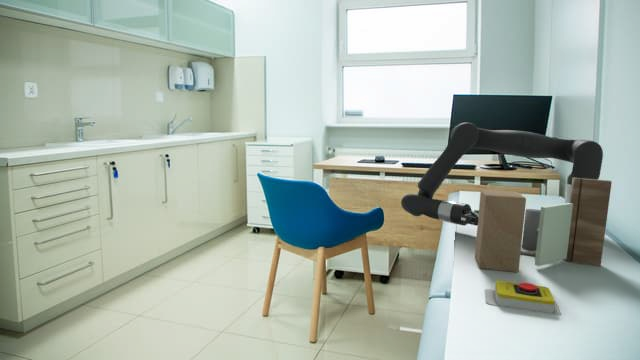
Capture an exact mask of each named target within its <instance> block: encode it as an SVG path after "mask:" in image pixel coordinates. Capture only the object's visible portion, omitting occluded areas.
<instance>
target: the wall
mask: <svg viewBox="0 0 640 360" xmlns="http://www.w3.org/2000/svg"><path fill="white" fill-rule="evenodd" d="M612 184H613V183H612V180H607V179H606V180H605V179H598V180H597V179H585V178H572V186H571V195H570V203H573V209H572V217H571V226H570V234H569V242H568V250H567V259H564V260H562V261H563V262H568V263H573V264H574V263H576V264H581V265H589V266H593V267H594V266H595V267H602V266H601V265H602V258H603V251H604V242H605V238H606V237H605V236H606V227H607V221H608V211H609V205H610V199H611V197H610V196H611V191H612V190H611V189H612ZM520 255H523V256H528V257H535V256H536V252H530V251H525V250H521V253H520Z"/></svg>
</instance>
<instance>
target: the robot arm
mask: <svg viewBox="0 0 640 360" xmlns="http://www.w3.org/2000/svg"><path fill="white" fill-rule="evenodd" d="M449 136H450V137H449V138H450V140H449V142H448V144H447V146H446V147H445V149H444V150H443V152H441V154H440V156H438V158H437V159H436V160H435V161H434V162H433V164H432V165H431V166H430V167H429V168H428V169H427V170H426V172H425V173H424V174H423V176H422V177H421V178H420V180H419V181H418V183H417V188H418V190H419V191H418V192H417V193H408V194H405V195H404V196H403V197H402V198H401V202H400V204H401V207H402V209H403V210H404V211H405V212H406V213H408V214H410V215H412V216H413V217H420V216H422V215H424V216H426V217H428V218H431V219H435V220H438V221H441V222H442V221H443V222H444V223H450V224H454V225H460V226H462V227H463V226H467V225H471V226H477V227H478V216H479V209H474V210H472V207H471V205H470V204H469V203H464V202H458V201H451V200H441V199H437V198H433V197H434V195H435V193H436V192H437V190H438V189H439V188H440V187H441V185H442V184H443V182H444V181H445V179H447V177H448V175H449V174H450V173H451V171H452V169H454V167H455V166H456V165H457V163H458V162H459V160H460V159H461V158H463V156H464V155H465V154H466V153H467V152H468V151H469V150H470V149H475V150H476V149H477V150H478V149H479V150H487V151H488V150H489V151H493V152H495V153H500V154H504V155H509V156H515V157H518V158H519V157H522V158H528V159H529V158H530V159H553V160H554V159H555V160H559V161H565V162H568V163H571V164H572V168H571V169H572V170H571V172H570V174H569V175H567V179H566V186H565V187H566V189H565V195H564V196H565V197H564V203H570V195H571V186H572V178H585V179H597V180H600V175H601V171H602V166H603V165H602V164H603V157H604V152H603V147H602V146H601V145H600V144H599V142H596V141H594V140H589V139H568V138H567V139H565V138H564V139H563V138H556V137H555V138H554V137H551V136H547V135H545V134H540V133H536V132H531V131H525V130H524V131H523V130H511V129H502V130H501V129H499V130H498V129H496V130H493V129H492V130H491V129H486V128H480V127H477V126H476V125H475V124H474V123H471V122H461V123H458V124H457V125H455V126H454V128H452V130H451V131H450V135H449Z"/></svg>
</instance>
